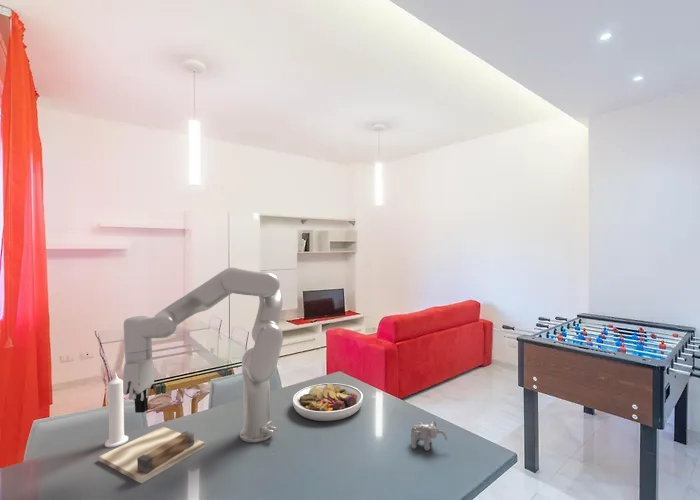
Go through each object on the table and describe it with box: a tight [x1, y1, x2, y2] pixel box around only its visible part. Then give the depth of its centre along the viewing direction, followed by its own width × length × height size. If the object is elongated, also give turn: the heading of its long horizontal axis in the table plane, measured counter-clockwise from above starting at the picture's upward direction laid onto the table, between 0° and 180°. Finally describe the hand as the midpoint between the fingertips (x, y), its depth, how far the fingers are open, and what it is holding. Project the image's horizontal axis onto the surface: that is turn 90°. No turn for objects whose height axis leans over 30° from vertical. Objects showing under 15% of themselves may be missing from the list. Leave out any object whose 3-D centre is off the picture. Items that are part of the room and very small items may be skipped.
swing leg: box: [137, 430, 195, 474], centre depth 115 cm, size 19×4×4 cm, turn 156°
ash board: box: [98, 426, 206, 484], centre depth 120 cm, size 24×22×2 cm
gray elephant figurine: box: [410, 420, 448, 452], centre depth 122 cm, size 9×12×8 cm
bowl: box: [292, 382, 364, 422], centre depth 153 cm, size 30×30×8 cm
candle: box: [104, 372, 129, 448], centre depth 127 cm, size 7×7×25 cm
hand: (141, 411), depth 115 cm, fingers closed
